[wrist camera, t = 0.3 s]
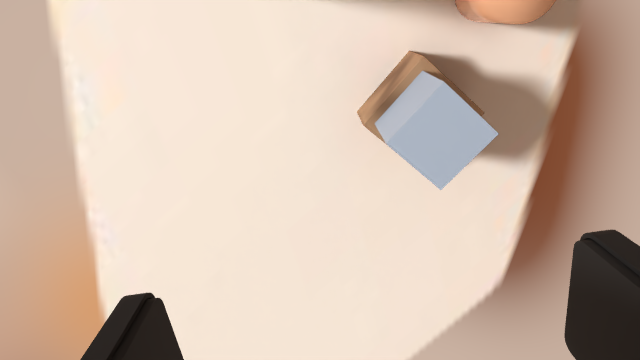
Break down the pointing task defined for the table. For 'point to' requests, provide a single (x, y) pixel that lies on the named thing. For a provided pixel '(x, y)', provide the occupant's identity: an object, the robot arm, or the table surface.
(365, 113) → the walnut base block
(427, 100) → the slate blue cube
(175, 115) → the table surface
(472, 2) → the terracotta capsule
